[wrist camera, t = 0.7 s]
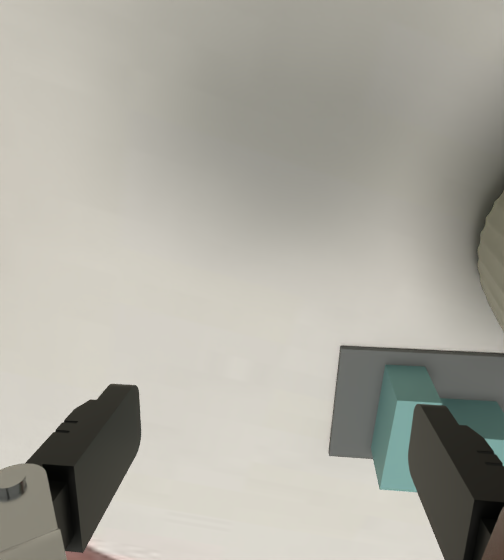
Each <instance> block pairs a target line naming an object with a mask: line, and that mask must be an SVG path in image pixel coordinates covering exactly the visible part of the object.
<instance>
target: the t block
mask: <svg viewBox="0 0 504 560" xmlns="http://www.w3.org/2000/svg"><path fill="white" fill-rule="evenodd" d="M417 404H428V405H444V406H446V407H447V408H448V409H449V411H450V412H451V414H452V415H453V417H454V418H455V419H456V421H457V422H458V424H459V425H467V426H469V427H470V428H471V429H473V430H474V431H475V432H477V433H478V434H479V435H481V436H482V437H483V438H484V439H485V440H486V441H487V443H488V444H489V446H490V447H491V448H492V450H493V451H494V454H496V455H497V456H498V458H499V459H500V460H501V462H502V463H503V466H504V412H503V411H502V409H501V408H500V406H499V405H498V403H497V402H496V401H480V400H462V399H445V398H440V397H439V395H438V393H437V391H436V389H435V387H434V384H433V382H432V380H431V378H430V376H429V374H428V372H427V370H426V367H421V366H402V365H385V370H384V375H383V381H382V387H381V393H380V399H379V404H378V410H377V416H376V422H375V428H374V433H373V439H372V445H371V451H372V456H373V460H374V465H375V470H376V474H377V479H378V484H379V488H380V489H381V490H395V491H408V492H417V490H416V487H415V485H414V483H413V480H412V478H411V475H410V471H409V465H408V450H409V442H410V435H411V427H412V420H413V412H414V408H415V406H416V405H417Z"/></svg>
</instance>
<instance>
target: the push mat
mask: <svg viewBox="0 0 504 560" xmlns="http://www.w3.org/2000/svg"><path fill="white" fill-rule="evenodd" d="M385 365H402V366H421V367H426V370H427V372H428V374H429V376H430V378H431V380H432V382H433V384H434V387H435V389H436V391H437V393H438V395H439V397H440V398H445V399H462V400H480V401H496V402H497V403H498V405H499V406H500V408H501V409H502V411H503V412H504V354H494V353H473V352H453V351H432V350H412V349H391V348H370V347H350V346H341V347H340V356H339V365H338V374H337V383H336V392H335V401H334V410H333V419H332V428H331V437H330V446H329V456H338V457H352V458H366V459H373V456H372V451H371V445H372V439H373V433H374V428H375V422H376V416H377V410H378V404H379V399H380V393H381V387H382V381H383V375H384V370H385Z"/></svg>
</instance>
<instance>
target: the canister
mask: <svg viewBox="0 0 504 560" xmlns="http://www.w3.org/2000/svg"><path fill="white" fill-rule="evenodd" d="M480 237H481V240H480V245H479V246H478V250H477V251H478V256H479V260H478V264H477V266H478V271H479V274H480V283H481V286H482V289H483V291H484V293H485V295H486V298H487V301H488V303H489V305H490V307H491V309H492V311H493V313H494V315H495V317H496V318H497V320H498V322H499V324H500V326H501V328H502V330H503V331H504V191H503V192H502V194H501V195H500V197H499V198H498V199H497V200H495V201H494V205H493V208H492V210H491V211H490V213H489V215H488V216H487V217H486V223H485V226H484V228H483V230H482V231H481V233H480Z"/></svg>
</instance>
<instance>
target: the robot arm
mask: <svg viewBox="0 0 504 560" xmlns="http://www.w3.org/2000/svg"><path fill="white" fill-rule="evenodd" d="M140 440H141V421H140V403H139V390H138V387H137V386H136V385H122V384H110V385H109V386H108V387H107V388H106V389H105V391H104V392H103V393H102V394H101V395H100V396H99V398H98V399H97V400H89V401H87V402H86V403H84V404H82V405H81V406H79V407H77V408H76V409H74V410H73V411H72V413H71V414H70V415H69V416H68V417H67V418H66V419H65V420H64V423H61V425H60V426H59V427H58V428H57V429H56V432H53V433H52V434H51V436H50V437H49V438H48V439H47V440H46V441H45V442H44V443H43V444H42V445H41V447H40V448H39V449H38V450H37V451H36V452H35V453H34V454H33V455H32V456H31V457H30V459H29V460H28V461H27V462H26V463H25V464H17V465H13V466H9V467H6V468H3V469H1V470H0V560H67V559H66V554H65V551H71V552H81V553H83V552H84V550H85V548H86V546H87V544H88V542H89V541H90V539H91V537H92V535H93V533H94V531H95V530H96V528H97V526H98V524H99V522H100V520H101V519H102V517H103V515H104V513H105V511H106V509H107V508H108V506H109V504H110V502H111V500H112V498H113V496H114V495H115V493H116V491H117V489H118V487H119V485H120V484H121V482H122V480H123V478H124V476H125V474H126V473H127V471H128V469H129V467H130V465H131V463H132V462H133V460H134V458H135V456H136V454H137V452H138V449H139V445H140ZM408 465H409V471H410V475H411V478H412V480H413V483H414V485H415V487H416V490H417V492H418V495H419V497H420V500H421V502H422V505H423V507H424V510H425V512H426V515H427V517H428V520H429V522H430V525H431V527H432V529H433V532H434V534H435V537H436V539H437V542H438V544H439V547H440V549H441V552H442V554H443V557H444V559H445V560H504V466H503V463H502V462H501V460H500V459H499V458H498V456H497V455H496V454H494V451H493V450H492V448H491V447H490V446H489V444H488V443H487V441H486V440H485V439H484V438H483V437H482V436H481V435H479V434H478V433H477V432H475V431H474V430H473V429H471V428H470V427H469V426H467V425H459V424H458V422H457V421H456V419H455V418H454V417H453V415H452V414H451V412H450V411H449V409H448V408H447V407H446V406H444V405H428V404H417V405H416V406H415V408H414V412H413V420H412V427H411V435H410V442H409V450H408Z"/></svg>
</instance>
